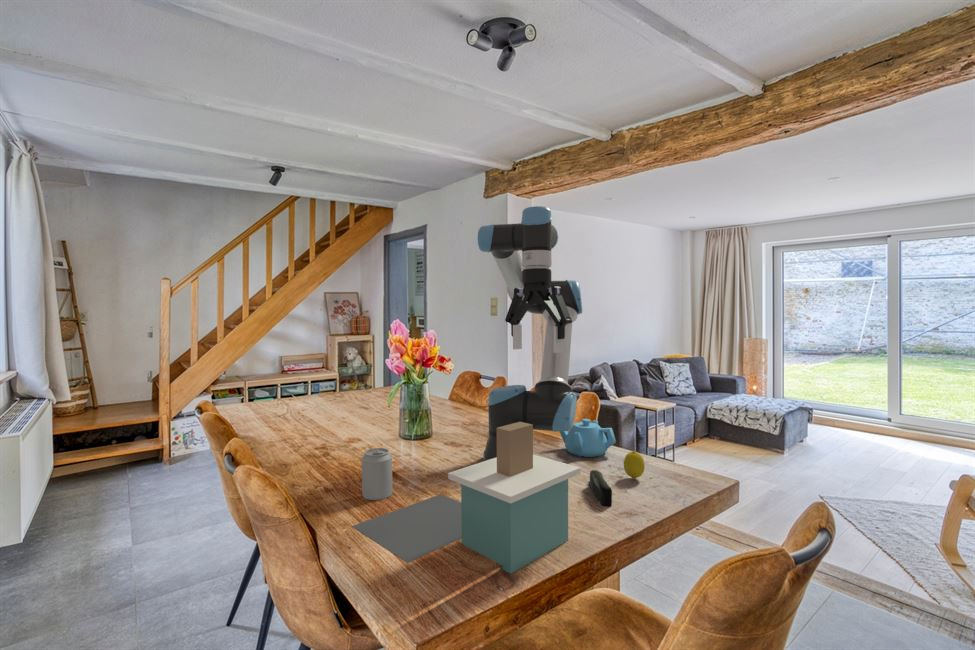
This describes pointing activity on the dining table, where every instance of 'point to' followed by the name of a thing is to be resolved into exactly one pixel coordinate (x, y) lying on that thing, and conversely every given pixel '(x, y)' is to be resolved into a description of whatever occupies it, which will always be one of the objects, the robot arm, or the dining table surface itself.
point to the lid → (514, 467)
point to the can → (376, 474)
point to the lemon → (634, 464)
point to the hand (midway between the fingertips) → (536, 350)
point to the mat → (416, 527)
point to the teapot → (588, 439)
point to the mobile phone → (600, 488)
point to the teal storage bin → (515, 525)
